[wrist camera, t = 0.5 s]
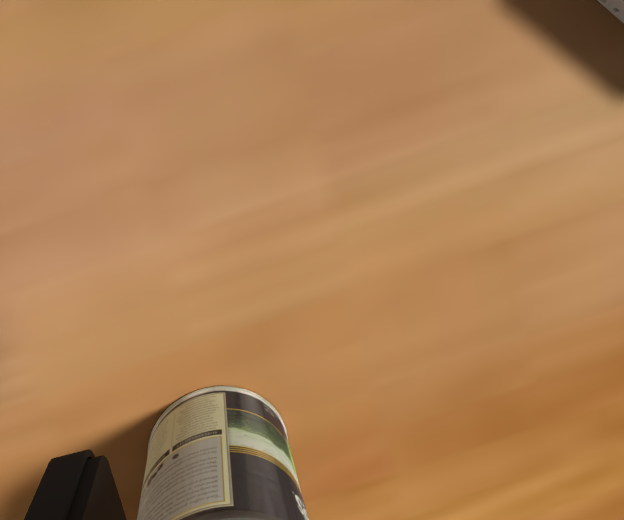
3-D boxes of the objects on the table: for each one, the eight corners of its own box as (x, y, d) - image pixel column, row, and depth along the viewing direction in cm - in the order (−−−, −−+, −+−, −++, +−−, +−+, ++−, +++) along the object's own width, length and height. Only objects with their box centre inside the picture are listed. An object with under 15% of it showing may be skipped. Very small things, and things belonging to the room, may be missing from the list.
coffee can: (294, 384, 41) (339, 516, 27) (280, 505, 43) (315, 681, 30) (149, 382, 39) (121, 524, 25) (143, 509, 41) (114, 701, 28)
